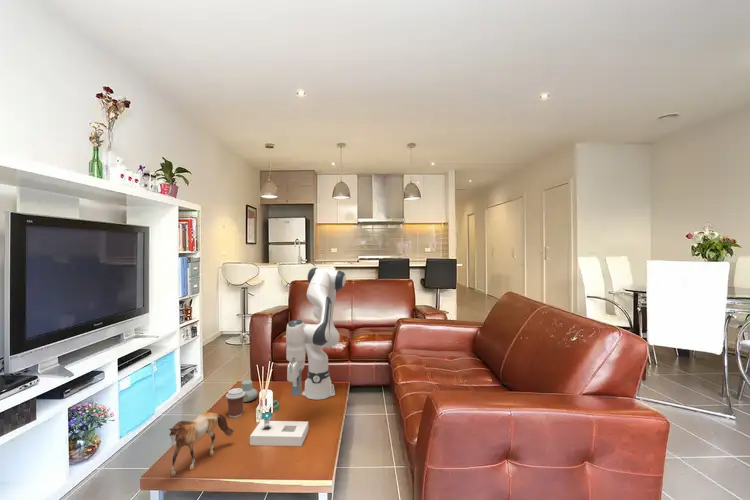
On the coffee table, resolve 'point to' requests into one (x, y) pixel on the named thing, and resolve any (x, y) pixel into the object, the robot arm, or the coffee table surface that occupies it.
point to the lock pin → (266, 419)
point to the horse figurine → (196, 433)
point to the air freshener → (248, 390)
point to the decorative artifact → (275, 405)
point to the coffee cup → (235, 402)
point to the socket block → (280, 433)
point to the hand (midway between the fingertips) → (296, 383)
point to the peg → (298, 389)
